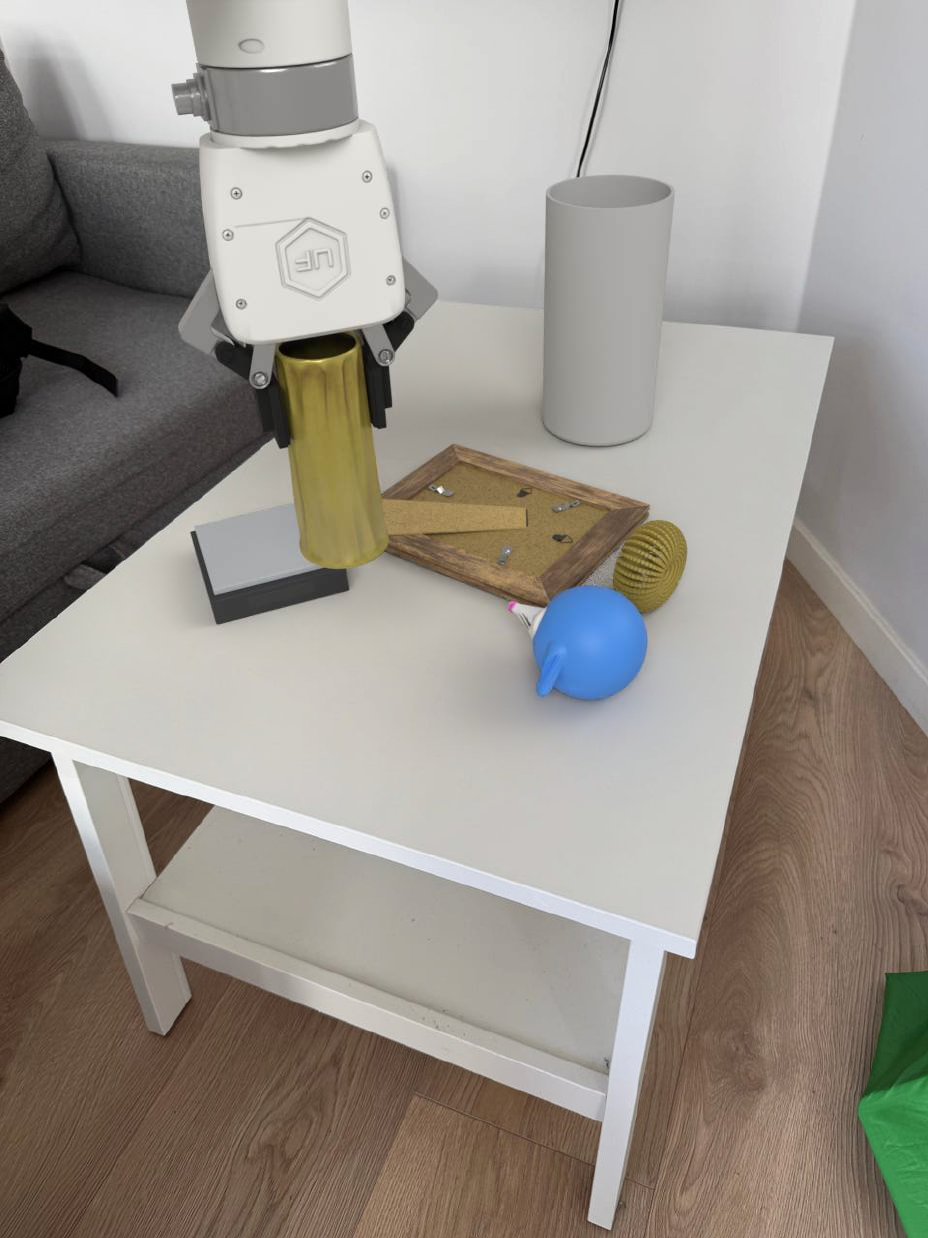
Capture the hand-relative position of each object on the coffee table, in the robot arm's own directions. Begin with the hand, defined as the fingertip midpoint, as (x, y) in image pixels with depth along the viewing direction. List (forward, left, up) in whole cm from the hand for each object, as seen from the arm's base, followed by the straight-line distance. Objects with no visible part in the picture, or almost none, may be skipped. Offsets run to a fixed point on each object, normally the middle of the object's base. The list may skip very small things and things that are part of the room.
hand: (328, 426), depth 57 cm
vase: (0, 0, -9) cm, 9 cm away
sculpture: (+26, +1, -23) cm, 35 cm away
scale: (-4, +20, -23) cm, 31 cm away
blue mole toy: (+15, -4, -23) cm, 28 cm away
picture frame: (+18, +18, -23) cm, 35 cm away
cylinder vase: (+37, +33, -23) cm, 55 cm away
